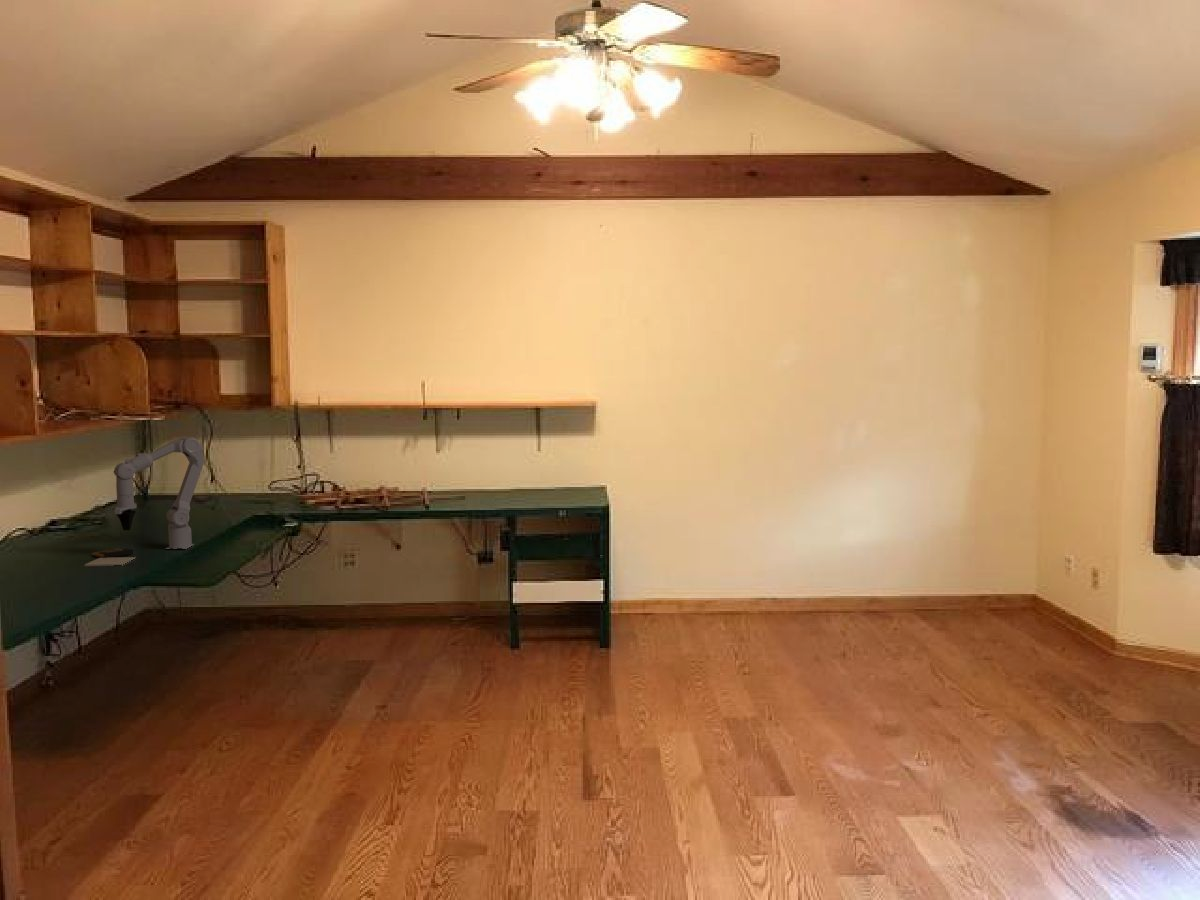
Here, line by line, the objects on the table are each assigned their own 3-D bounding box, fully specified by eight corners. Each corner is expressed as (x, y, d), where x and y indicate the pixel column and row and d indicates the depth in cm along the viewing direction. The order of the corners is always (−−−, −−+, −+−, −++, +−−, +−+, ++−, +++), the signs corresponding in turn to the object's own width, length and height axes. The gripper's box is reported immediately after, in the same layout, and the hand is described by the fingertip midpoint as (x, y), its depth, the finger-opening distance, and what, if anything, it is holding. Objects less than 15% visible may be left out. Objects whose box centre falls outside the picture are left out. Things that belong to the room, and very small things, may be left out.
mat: (100, 559, 356) (100, 557, 356) (135, 558, 357) (135, 557, 357) (84, 566, 344) (84, 564, 344) (121, 565, 345) (121, 564, 345)
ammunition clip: (104, 553, 355) (89, 551, 363) (104, 558, 355) (89, 556, 363) (133, 549, 364) (117, 547, 371) (133, 553, 364) (118, 552, 371)
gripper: (122, 492, 370) (124, 526, 371) (105, 497, 355) (107, 533, 357) (141, 492, 370) (143, 526, 371) (125, 497, 356) (126, 533, 357)
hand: (126, 530), depth 364 cm, fingers closed
